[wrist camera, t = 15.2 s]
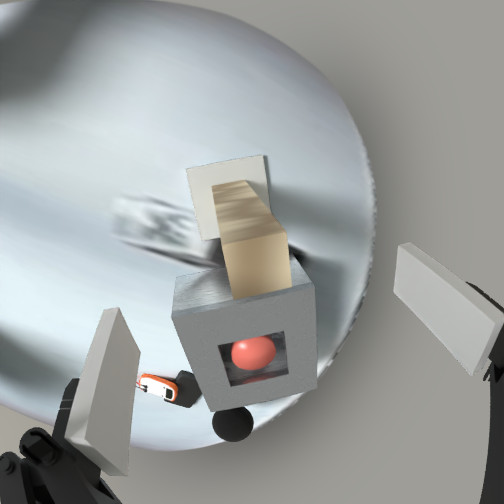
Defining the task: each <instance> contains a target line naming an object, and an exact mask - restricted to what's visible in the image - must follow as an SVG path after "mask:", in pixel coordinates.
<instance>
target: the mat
mask: <svg viewBox="0 0 504 504" xmlns="http://www.w3.org/2000/svg"><path fill="white" fill-rule="evenodd" d="M186 173H187V178H188V182H189V187H190V192H191V197H192V201H193V206H194V210H195V215H196V219H197V224H198V228H199V233H200V237H201V241H205V240H209V239H214V238H219V237H220V233H219V227H218V222H217V216H216V211H215V205H214V199H213V194H212V188H211V186H213V185H218V184H224V183H229V182H234V181H239V180H245V181H246V182H247V183H248V184H249V186H250V187H251V188H252V189H253V191H254V192H255V193H256V194H257V196H258V197H259V198H260V199H261V201H262V202H263V203H264V204H265V206H266V207H267V208H268V209H269V211H270V212H271V209H270V202H269V195H268V188H267V180H266V173H265V166H264V160H263V155H257V156H251V157H245V158H239V159H233V160H228V161H222V162H217V163H212V164H207V165H202V166H197V167H193V168H188V169H186Z"/></svg>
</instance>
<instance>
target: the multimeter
mask: <svg viewBox="0 0 504 504" xmlns="http://www.w3.org/2000/svg"><path fill="white" fill-rule="evenodd" d="M136 383H137V382H136ZM137 384H139V386H140V387H138V388H140V389H141V390H143V391H144V392H149V393H153V394H155V395H158V396H160V397H163V398H164V401H166V402H169V403H172V404H176V405H179V406H183V407H186V408H190V407H191V406H192V405H193V404H194V402H195V401H196V400H197V398H198V397H199V396H200V395H201V393H202V392H201V389H200V387H199V385H198V382H197V380H196V378H195V376H194V374H192V373H189V372H186V371H183V370H181V371H180V372H179V374H178V376H177V377H176V379H175V381H174V382H171V381H168V380H165V379H163V378H160V377H158V376H155V375H150V374H143V375H142V376H141V378H140V380H139V383H137ZM136 387H137V386H136Z"/></svg>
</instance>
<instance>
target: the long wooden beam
mask: <svg viewBox="0 0 504 504" xmlns="http://www.w3.org/2000/svg"><path fill="white" fill-rule="evenodd" d="M211 188H212V194H213V199H214V205H215V211H216V216H217V222H218V227H219V233H220V238H221V244H222V249H223V253H224V258H225V263H226V267H227V272H228V277H229V281H230V286H231V291H232V295H233V300H236V299H240V298H245V297H250V296H254V295H259V294H263V293H268V292H272V291H277V290H281V289H286V288H290V287H292V281H291V271H290V261H289V251H288V242H287V233H286V231H285V229H284V228H283V227H282V226H281V224H280V223H279V222H278V221H277V219H276V218H275V217H274V216H273V214H272V213H271V212H270V211H269V209H268V208H267V207H266V206H265V204H264V203H263V202H262V201H261V199H260V198H259V197H258V196H257V194H256V193H255V192H254V191H253V189H252V188H251V187H250V186H249V184H248V183H247V182H246V181H245V180H239V181H234V182H229V183H224V184H218V185H213V186H211Z"/></svg>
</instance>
